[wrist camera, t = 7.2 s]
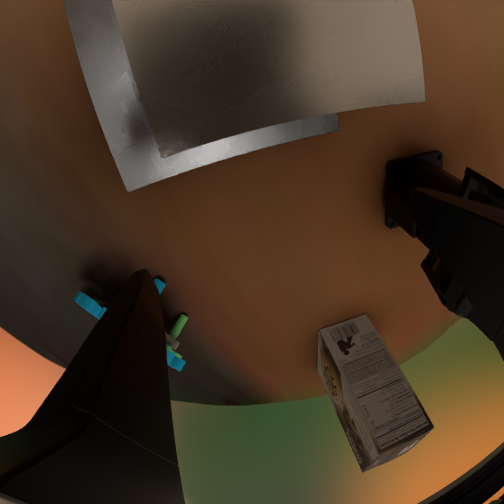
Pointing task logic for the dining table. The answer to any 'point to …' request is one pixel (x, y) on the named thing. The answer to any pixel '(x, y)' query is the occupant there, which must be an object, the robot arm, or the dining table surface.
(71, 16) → the stand
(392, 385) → the coffee box
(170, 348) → the blue angular plastic piece
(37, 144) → the dining table surface
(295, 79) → the block
